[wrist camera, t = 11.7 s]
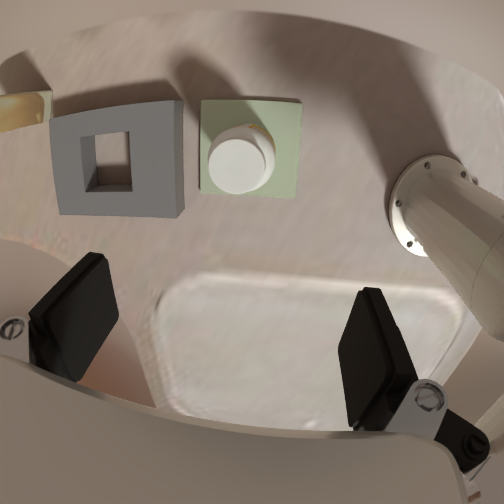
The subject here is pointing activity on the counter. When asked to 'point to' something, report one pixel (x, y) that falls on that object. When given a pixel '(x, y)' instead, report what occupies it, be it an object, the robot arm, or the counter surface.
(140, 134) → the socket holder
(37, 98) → the skincare box
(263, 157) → the supplement bottle
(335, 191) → the counter surface
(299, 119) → the rubber mat
